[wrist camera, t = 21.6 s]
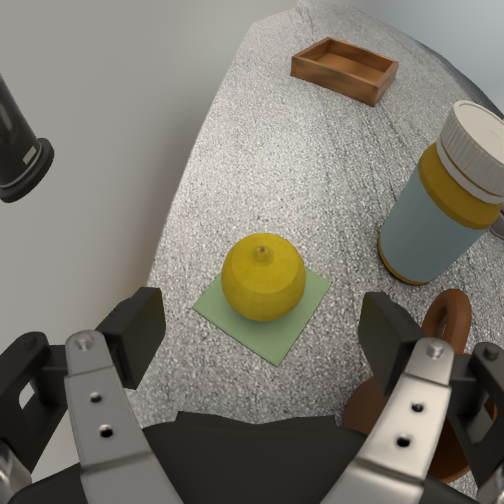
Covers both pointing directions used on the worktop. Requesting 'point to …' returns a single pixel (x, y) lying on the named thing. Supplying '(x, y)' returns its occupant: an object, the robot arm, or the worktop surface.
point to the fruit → (263, 277)
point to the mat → (266, 332)
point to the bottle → (447, 196)
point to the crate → (345, 69)
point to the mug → (448, 447)
